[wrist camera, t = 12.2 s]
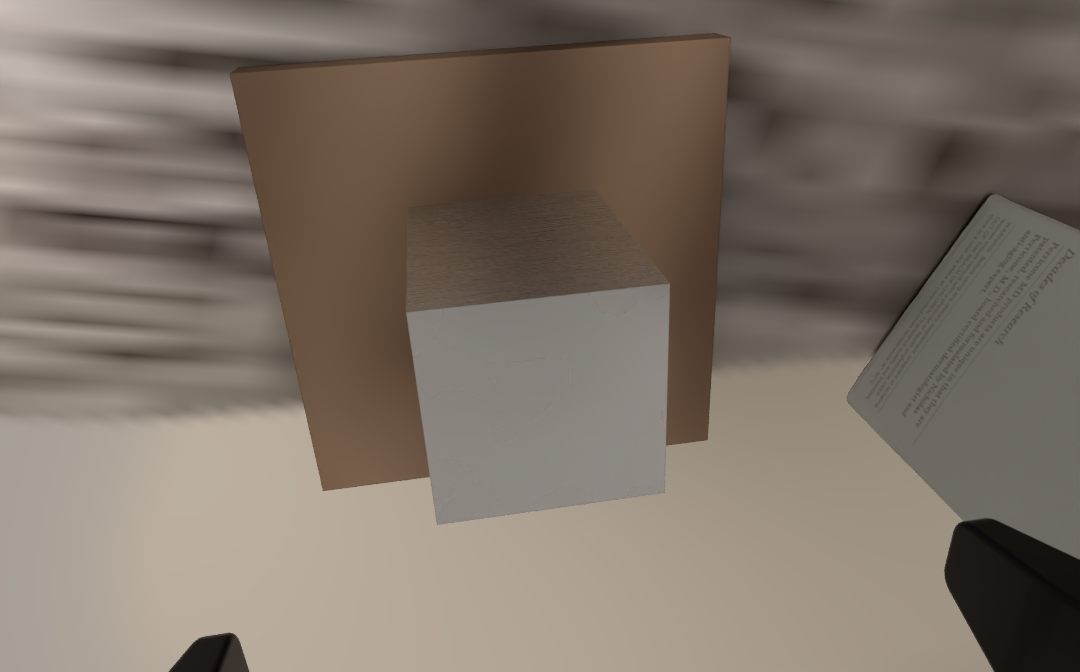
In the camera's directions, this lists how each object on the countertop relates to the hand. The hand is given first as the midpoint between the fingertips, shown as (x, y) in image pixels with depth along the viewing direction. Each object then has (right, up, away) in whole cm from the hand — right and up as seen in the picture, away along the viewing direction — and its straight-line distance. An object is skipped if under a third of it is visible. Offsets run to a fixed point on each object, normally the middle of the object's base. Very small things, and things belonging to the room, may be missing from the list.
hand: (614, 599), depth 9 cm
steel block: (-2, +5, +10) cm, 11 cm away
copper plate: (-2, +5, +11) cm, 12 cm away
